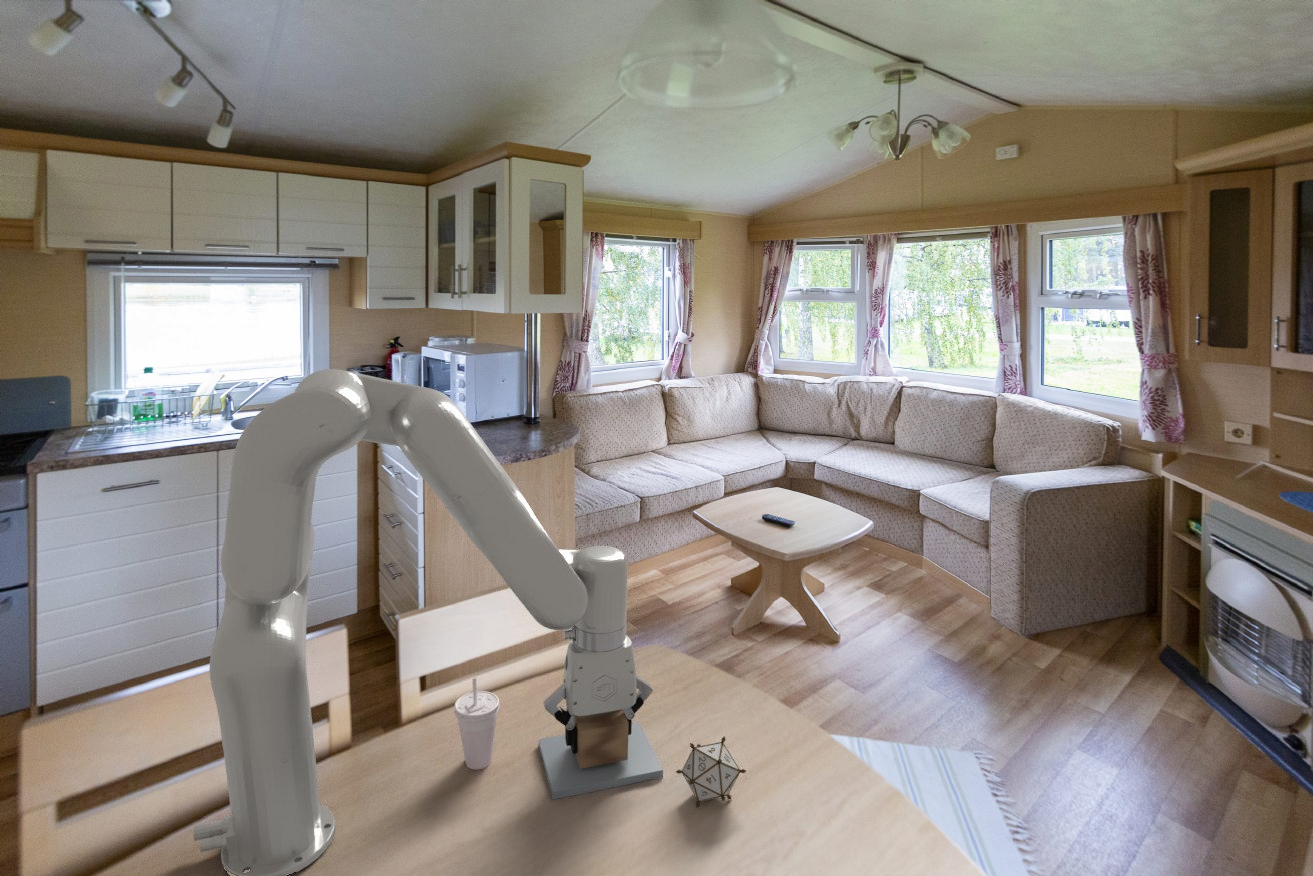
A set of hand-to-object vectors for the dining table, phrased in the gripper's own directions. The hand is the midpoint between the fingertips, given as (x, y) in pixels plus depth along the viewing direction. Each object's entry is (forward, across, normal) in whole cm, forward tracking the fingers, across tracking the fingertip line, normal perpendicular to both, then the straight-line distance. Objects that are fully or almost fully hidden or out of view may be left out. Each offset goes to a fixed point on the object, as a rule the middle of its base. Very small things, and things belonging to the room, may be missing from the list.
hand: (598, 742), depth 106 cm
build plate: (+3, 0, 0) cm, 3 cm away
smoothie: (+3, -17, +5) cm, 18 cm away
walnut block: (+1, 0, 0) cm, 1 cm away
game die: (+3, +13, -12) cm, 18 cm away
